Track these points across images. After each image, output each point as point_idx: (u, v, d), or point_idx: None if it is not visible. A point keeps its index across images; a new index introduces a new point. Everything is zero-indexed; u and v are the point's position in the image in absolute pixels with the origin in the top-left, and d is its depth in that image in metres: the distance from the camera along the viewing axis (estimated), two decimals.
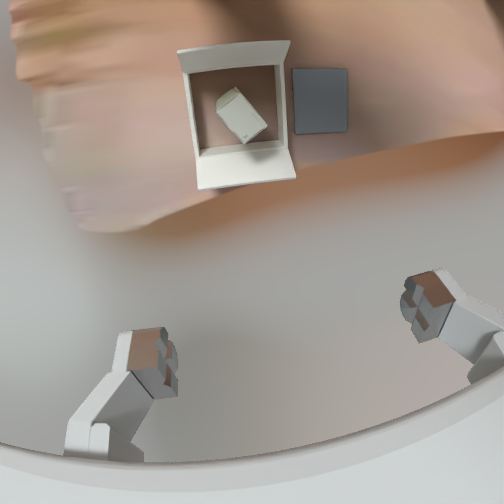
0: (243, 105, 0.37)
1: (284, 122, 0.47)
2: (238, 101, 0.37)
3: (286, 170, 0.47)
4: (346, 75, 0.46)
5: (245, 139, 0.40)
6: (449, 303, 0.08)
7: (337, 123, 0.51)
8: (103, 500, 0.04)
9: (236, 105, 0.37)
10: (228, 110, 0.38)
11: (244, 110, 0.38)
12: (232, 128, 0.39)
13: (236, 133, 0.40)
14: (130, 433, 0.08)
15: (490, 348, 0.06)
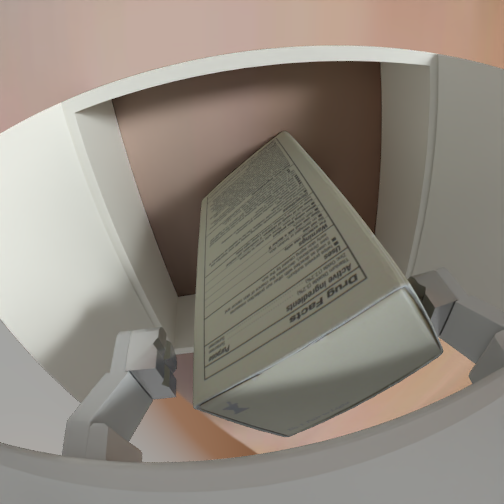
0: (392, 374, 0.08)
1: None
2: (416, 357, 0.07)
3: None
4: None
5: (217, 409, 0.07)
6: (451, 302, 0.08)
7: None
8: (103, 500, 0.04)
9: (403, 356, 0.07)
10: (393, 336, 0.06)
11: (369, 383, 0.08)
12: (284, 369, 0.07)
13: (251, 383, 0.07)
14: (129, 433, 0.08)
15: (492, 347, 0.06)
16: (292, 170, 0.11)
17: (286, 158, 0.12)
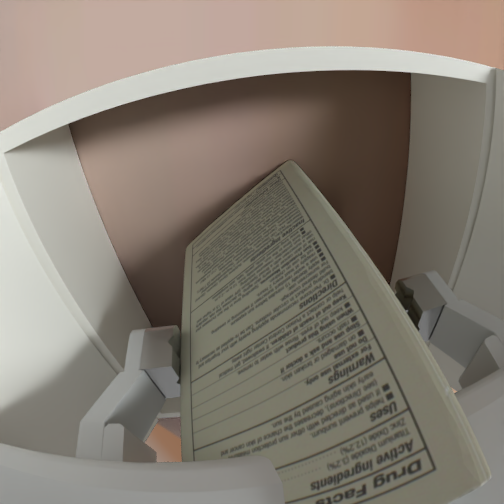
0: None
1: None
2: None
3: None
4: None
5: None
6: (439, 306, 0.08)
7: None
8: (103, 500, 0.04)
9: None
10: None
11: None
12: None
13: None
14: (142, 433, 0.08)
15: (481, 353, 0.06)
16: (309, 231, 0.08)
17: (297, 207, 0.09)
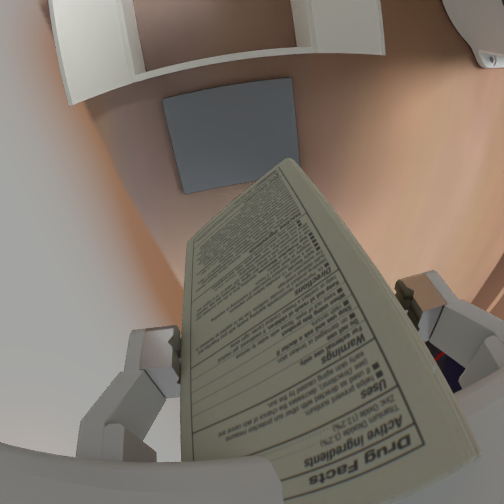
0: None
1: (188, 64, 0.20)
2: None
3: (84, 82, 0.16)
4: None
5: None
6: (439, 306, 0.08)
7: (196, 172, 0.30)
8: (103, 500, 0.04)
9: None
10: (437, 482, 0.04)
11: None
12: None
13: None
14: (142, 433, 0.08)
15: (481, 353, 0.06)
16: (305, 224, 0.09)
17: (294, 201, 0.10)
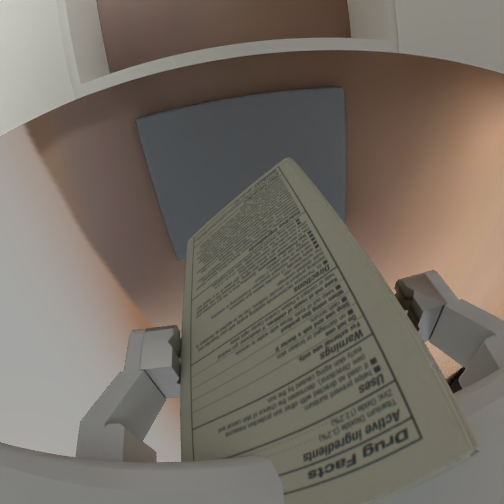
0: None
1: (174, 60, 0.11)
2: None
3: None
4: None
5: None
6: (439, 306, 0.08)
7: (193, 231, 0.20)
8: (103, 500, 0.04)
9: None
10: None
11: None
12: None
13: None
14: (142, 433, 0.08)
15: (481, 353, 0.06)
16: (304, 222, 0.09)
17: (294, 200, 0.10)
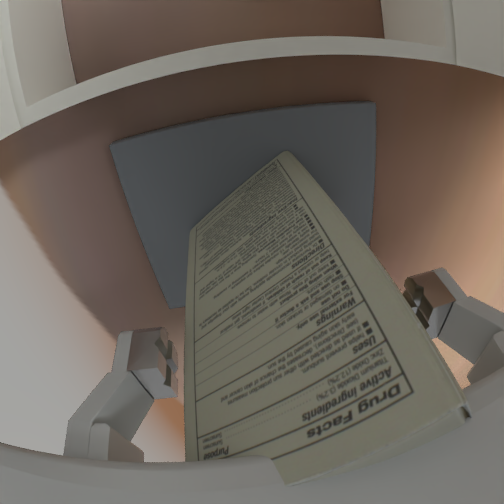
0: None
1: (150, 67, 0.07)
2: None
3: None
4: None
5: None
6: (449, 303, 0.08)
7: None
8: (103, 500, 0.04)
9: None
10: None
11: None
12: None
13: None
14: (130, 433, 0.08)
15: (490, 348, 0.06)
16: (301, 207, 0.09)
17: (291, 188, 0.10)
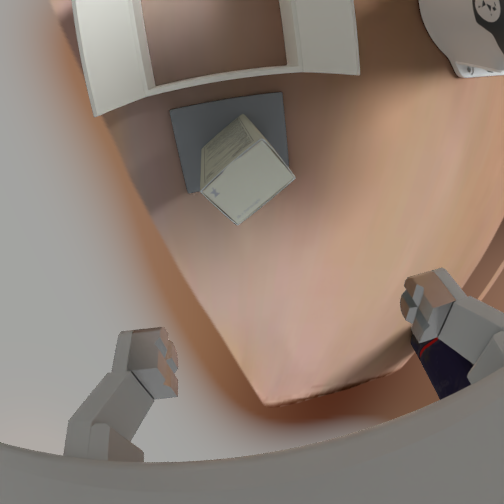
0: (273, 184, 0.23)
1: (193, 82, 0.25)
2: (281, 175, 0.23)
3: (107, 96, 0.20)
4: None
5: (208, 193, 0.23)
6: (449, 303, 0.08)
7: (198, 174, 0.34)
8: (103, 500, 0.04)
9: (274, 172, 0.22)
10: (265, 160, 0.22)
11: (264, 186, 0.23)
12: (230, 169, 0.22)
13: (220, 176, 0.22)
14: (130, 433, 0.08)
15: (490, 348, 0.06)
16: (241, 126, 0.27)
17: (240, 123, 0.28)
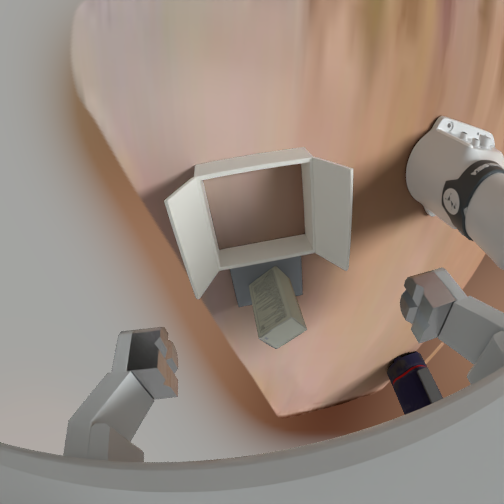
0: (295, 332, 0.44)
1: (249, 263, 0.46)
2: (300, 329, 0.44)
3: (202, 285, 0.42)
4: (296, 295, 0.57)
5: (263, 338, 0.44)
6: (449, 303, 0.08)
7: (246, 297, 0.56)
8: (103, 500, 0.04)
9: (296, 329, 0.44)
10: (292, 324, 0.43)
11: (291, 334, 0.44)
12: (274, 329, 0.43)
13: (269, 332, 0.44)
14: (130, 433, 0.08)
15: (490, 348, 0.06)
16: (277, 287, 0.48)
17: (275, 281, 0.49)
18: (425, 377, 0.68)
